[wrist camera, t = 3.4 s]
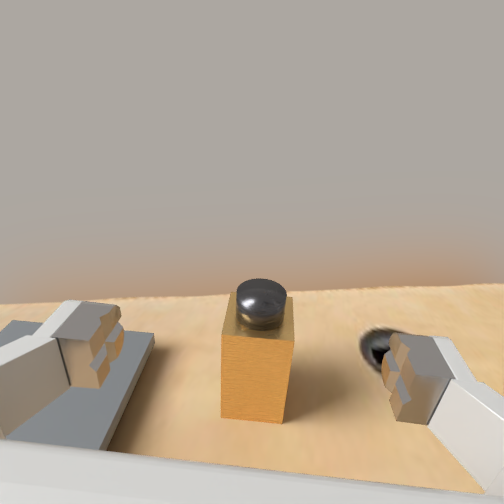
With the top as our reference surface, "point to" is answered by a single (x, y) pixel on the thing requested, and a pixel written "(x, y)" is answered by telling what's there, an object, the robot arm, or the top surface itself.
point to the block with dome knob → (256, 352)
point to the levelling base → (84, 397)
